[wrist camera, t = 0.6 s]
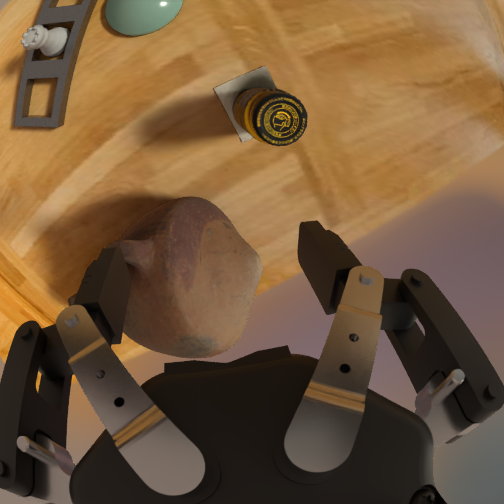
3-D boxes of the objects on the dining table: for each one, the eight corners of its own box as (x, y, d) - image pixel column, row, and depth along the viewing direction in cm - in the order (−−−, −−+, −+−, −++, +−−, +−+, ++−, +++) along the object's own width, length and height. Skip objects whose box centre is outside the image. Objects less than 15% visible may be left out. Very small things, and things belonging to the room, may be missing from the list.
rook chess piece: (73, 24, 19) (47, 13, 13) (70, 52, 22) (43, 47, 15) (46, 33, 18) (17, 27, 12) (44, 61, 21) (13, 59, 14)
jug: (239, 165, 36) (81, 231, 41) (219, 205, 19) (9, 291, 24) (281, 285, 45) (132, 321, 50) (290, 383, 27) (93, 398, 32)
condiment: (242, 142, 35) (263, 166, 25) (213, 88, 30) (222, 87, 20) (290, 120, 34) (329, 136, 24) (265, 65, 29) (297, 56, 19)
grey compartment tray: (64, -26, 13) (59, -30, 11) (112, -32, 15) (108, -37, 14) (21, 123, 25) (14, 126, 23) (63, 125, 27) (57, 127, 26)
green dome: (122, -27, 17) (121, -29, 16) (194, -22, 20) (194, -24, 19) (97, 34, 21) (95, 33, 21) (168, 39, 25) (168, 38, 24)
